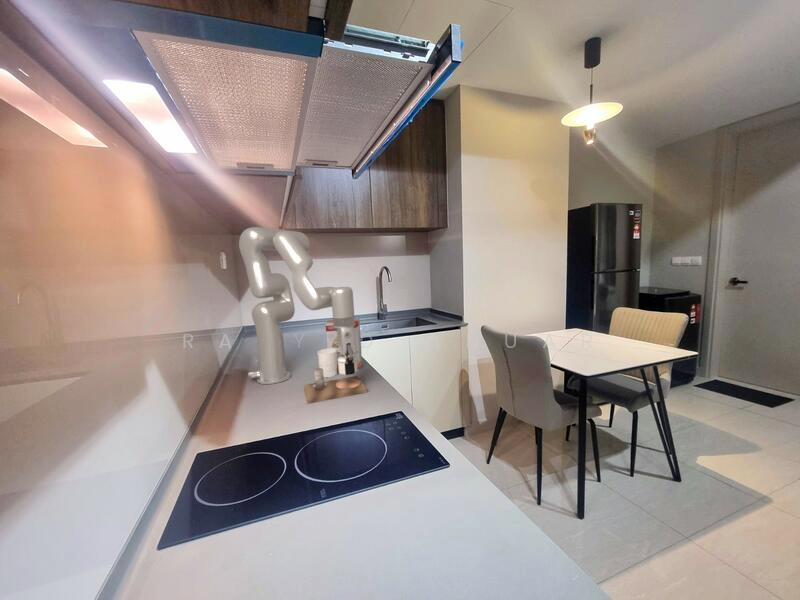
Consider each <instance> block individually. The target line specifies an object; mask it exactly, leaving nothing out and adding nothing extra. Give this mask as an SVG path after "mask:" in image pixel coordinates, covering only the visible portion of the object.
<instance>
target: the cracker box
mask: <svg viewBox="0 0 800 600" xmlns="http://www.w3.org/2000/svg"><path fill="white" fill-rule="evenodd" d="M353 328H354V334H355V342H356V350H357V353H356V354H354V353H353V352H352V353H353V355H355V356H356V360H357V369H361V368H362V365H363V360H362V359H363V358H362V357H363V356H362V340H361V323H360V318H355V326H353ZM325 337H326V349H336V350H337V370H338V358H339V357H341V352H340V351H339V347H338V336H337V328H334V324H333V319H329V320H327V321H326V322H325Z"/></svg>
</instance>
